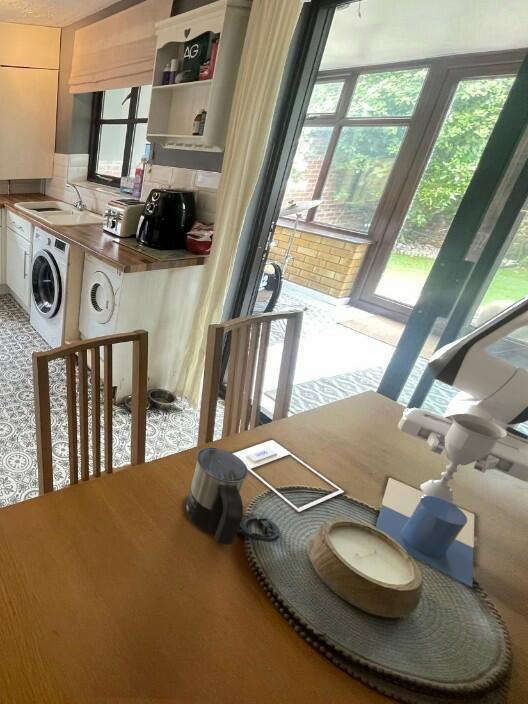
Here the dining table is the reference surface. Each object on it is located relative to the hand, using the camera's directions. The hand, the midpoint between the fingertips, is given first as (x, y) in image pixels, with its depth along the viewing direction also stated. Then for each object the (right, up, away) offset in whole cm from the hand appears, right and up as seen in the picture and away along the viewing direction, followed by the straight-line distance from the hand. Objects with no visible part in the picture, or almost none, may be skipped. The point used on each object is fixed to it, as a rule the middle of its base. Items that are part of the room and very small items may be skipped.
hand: (458, 458), depth 81 cm
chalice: (+1, -9, +5) cm, 10 cm away
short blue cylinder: (-7, -16, 0) cm, 18 cm away
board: (-3, -16, +4) cm, 16 cm away
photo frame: (-24, -9, +16) cm, 31 cm away
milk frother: (-43, -15, +4) cm, 46 cm away
